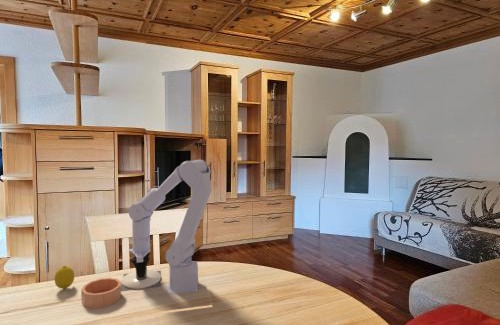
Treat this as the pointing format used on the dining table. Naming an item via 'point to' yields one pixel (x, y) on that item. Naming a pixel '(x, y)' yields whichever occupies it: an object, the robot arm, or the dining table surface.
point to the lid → (141, 280)
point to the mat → (143, 288)
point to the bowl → (101, 292)
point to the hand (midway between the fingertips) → (141, 274)
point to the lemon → (64, 277)
